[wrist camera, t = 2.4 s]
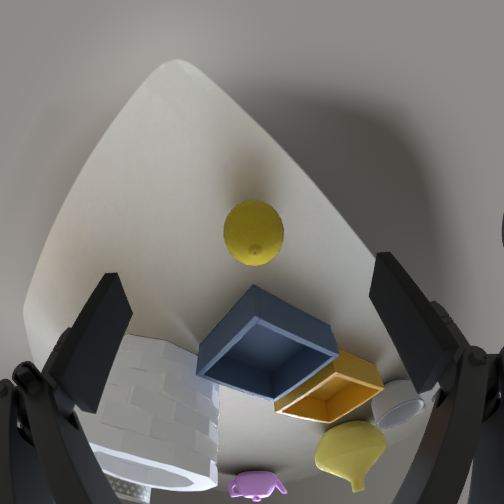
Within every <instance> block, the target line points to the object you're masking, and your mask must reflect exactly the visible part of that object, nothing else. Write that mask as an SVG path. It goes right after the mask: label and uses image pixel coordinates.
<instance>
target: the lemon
mask: <svg viewBox="0 0 504 504" xmlns="http://www.w3.org/2000/svg"><path fill="white" fill-rule="evenodd" d="M283 238H284V228H283V224H282V220H281V218H280V216H279V215H278V213H277V212H276V211H275V210H274V209H273V208H272V207H271V206H270V205H268V204H266V203H265V202H261V201H258V200H250V201H245V202H242V203H240V204H238V205H237V206H236V207H235V208H233V209H232V210H231V212H230V213H229V215H228V216H227V218H226V221H225V224H224V240H225V244H226V246H227V248H228V250H229V252H230V254H231V255H232V256H233V257H234V258H235V259H236V260H238V261H239V262H241V263H244V264H247V265H253V266H255V265H261V264H265V263H267V262H269V261H270V260H272V259H273V258H274V257H275V256H276V255H277V253H278V252H279V250H280V249H281V246H282V243H283Z"/></svg>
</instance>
